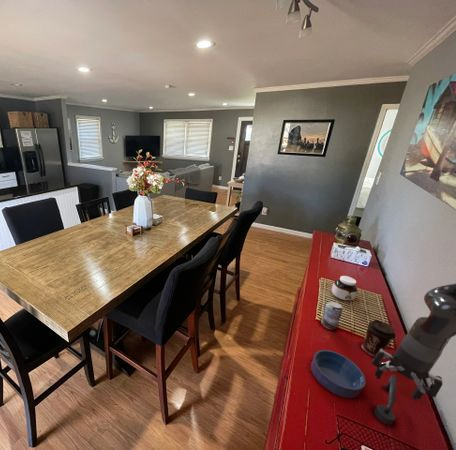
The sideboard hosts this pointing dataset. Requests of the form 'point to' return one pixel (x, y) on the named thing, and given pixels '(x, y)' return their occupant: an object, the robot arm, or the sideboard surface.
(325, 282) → the sideboard surface
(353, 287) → the spread jar
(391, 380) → the door handle
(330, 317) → the beverage can
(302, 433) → the sideboard surface
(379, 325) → the coffee cup
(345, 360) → the bowl
